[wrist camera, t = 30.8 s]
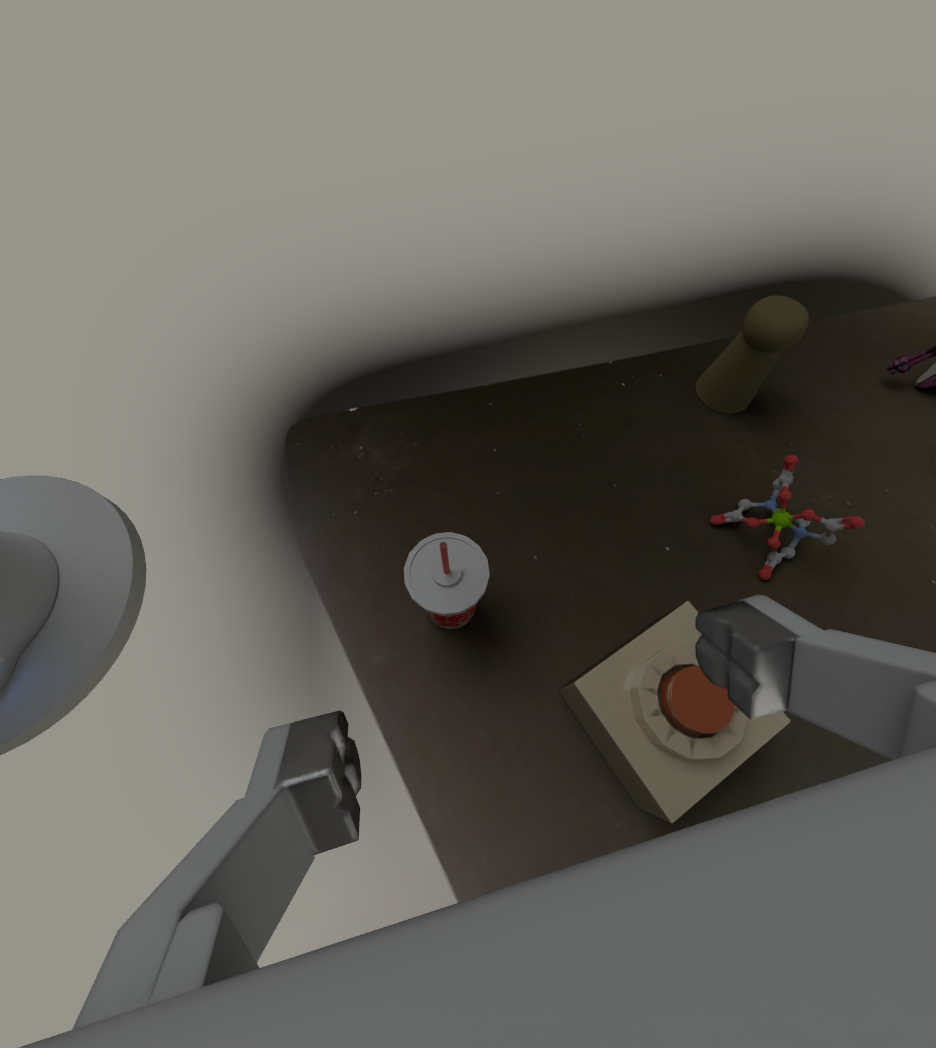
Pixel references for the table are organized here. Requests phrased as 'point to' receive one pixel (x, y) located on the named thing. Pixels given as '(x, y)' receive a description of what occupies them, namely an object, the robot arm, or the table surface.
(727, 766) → the button housing
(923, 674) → the robot arm
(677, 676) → the red push button
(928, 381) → the pouch
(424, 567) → the beverage cup
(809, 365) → the table surface
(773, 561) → the molecular model
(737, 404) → the peg doll
